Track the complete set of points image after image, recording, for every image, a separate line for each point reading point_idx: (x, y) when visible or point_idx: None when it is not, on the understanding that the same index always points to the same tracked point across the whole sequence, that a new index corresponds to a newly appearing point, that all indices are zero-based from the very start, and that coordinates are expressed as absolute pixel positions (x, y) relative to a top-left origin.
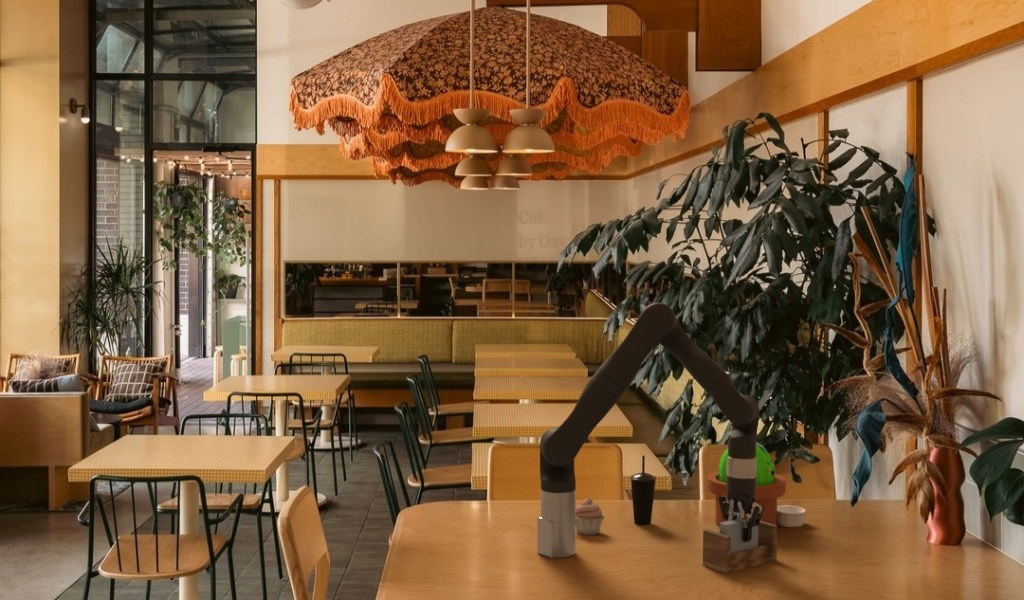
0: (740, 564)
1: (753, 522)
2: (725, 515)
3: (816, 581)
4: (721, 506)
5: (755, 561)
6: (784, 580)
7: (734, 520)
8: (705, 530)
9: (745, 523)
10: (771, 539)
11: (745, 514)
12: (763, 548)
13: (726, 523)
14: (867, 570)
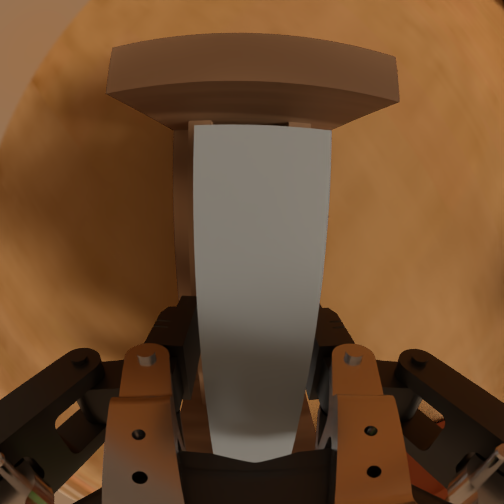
0: (180, 206)
1: (41, 372)
2: (417, 374)
3: (12, 304)
4: (494, 409)
5: (178, 294)
6: (34, 240)
7: (283, 367)
8: (381, 60)
9: (139, 370)
10: (186, 425)
11: (412, 471)
12: (200, 377)
13: (254, 189)
14: (56, 426)
